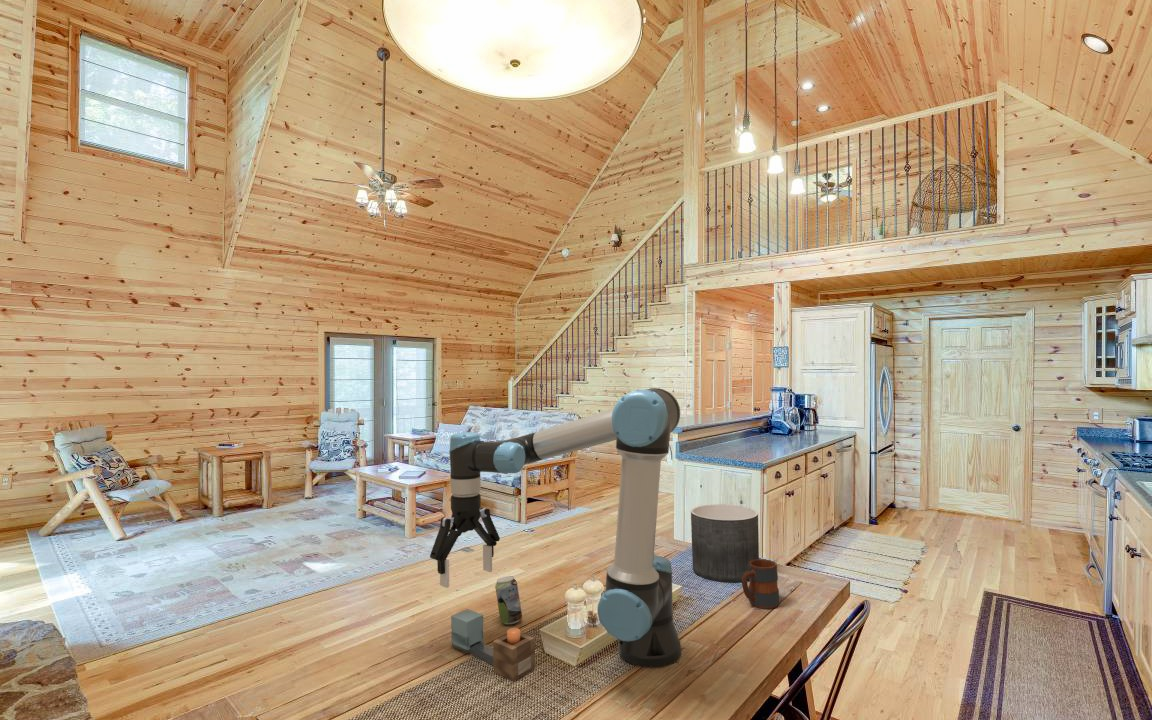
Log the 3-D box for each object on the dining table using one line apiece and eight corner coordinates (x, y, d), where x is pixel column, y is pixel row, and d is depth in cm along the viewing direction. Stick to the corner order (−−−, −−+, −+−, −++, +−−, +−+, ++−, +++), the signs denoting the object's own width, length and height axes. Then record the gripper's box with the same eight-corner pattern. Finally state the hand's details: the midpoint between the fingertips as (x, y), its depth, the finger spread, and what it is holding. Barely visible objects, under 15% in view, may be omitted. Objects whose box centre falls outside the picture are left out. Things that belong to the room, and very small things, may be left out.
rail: (509, 663, 136) (509, 648, 136) (500, 668, 134) (499, 653, 134) (461, 641, 148) (460, 627, 148) (451, 645, 145) (451, 631, 145)
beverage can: (518, 627, 155) (517, 583, 155) (492, 626, 156) (491, 581, 156) (525, 617, 161) (524, 574, 161) (500, 616, 162) (499, 573, 163)
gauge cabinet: (535, 668, 133) (535, 638, 133) (513, 681, 128) (513, 649, 128) (515, 659, 138) (514, 630, 138) (493, 671, 132) (493, 641, 132)
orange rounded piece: (523, 645, 133) (522, 630, 133) (513, 650, 131) (513, 635, 131) (514, 641, 135) (513, 626, 135) (504, 646, 133) (504, 631, 133)
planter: (757, 562, 203) (755, 505, 203) (762, 585, 181) (760, 521, 182) (693, 558, 208) (691, 503, 208) (691, 581, 186) (689, 518, 187)
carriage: (483, 642, 144) (483, 614, 144) (467, 650, 140) (466, 622, 140) (468, 635, 147) (467, 608, 148) (451, 643, 143) (451, 615, 144)
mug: (733, 603, 168) (732, 563, 168) (764, 595, 173) (763, 556, 173) (753, 614, 160) (752, 572, 160) (786, 606, 165) (785, 565, 165)
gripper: (493, 484, 157) (494, 562, 157) (414, 501, 138) (415, 589, 138) (512, 487, 152) (513, 567, 152) (432, 505, 134) (434, 597, 133)
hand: (467, 578), depth 145 cm, fingers open, 13 cm apart
